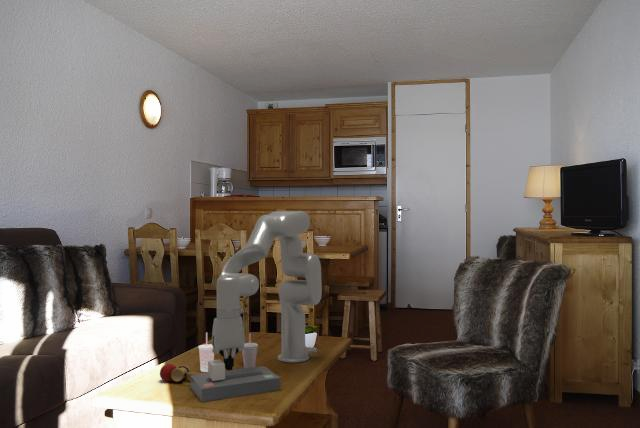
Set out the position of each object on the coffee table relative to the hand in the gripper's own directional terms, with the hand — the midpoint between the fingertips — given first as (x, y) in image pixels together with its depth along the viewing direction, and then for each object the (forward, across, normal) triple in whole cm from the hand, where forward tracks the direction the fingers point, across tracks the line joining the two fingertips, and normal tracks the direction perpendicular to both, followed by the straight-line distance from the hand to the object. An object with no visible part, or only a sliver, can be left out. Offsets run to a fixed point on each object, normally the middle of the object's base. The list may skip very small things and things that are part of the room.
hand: (228, 369), depth 180 cm
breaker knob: (+2, +4, 0) cm, 5 cm away
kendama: (+7, +11, -16) cm, 21 cm away
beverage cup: (+7, +1, -26) cm, 27 cm away
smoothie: (+7, -13, -18) cm, 23 cm away
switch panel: (+7, -2, -2) cm, 7 cm away
